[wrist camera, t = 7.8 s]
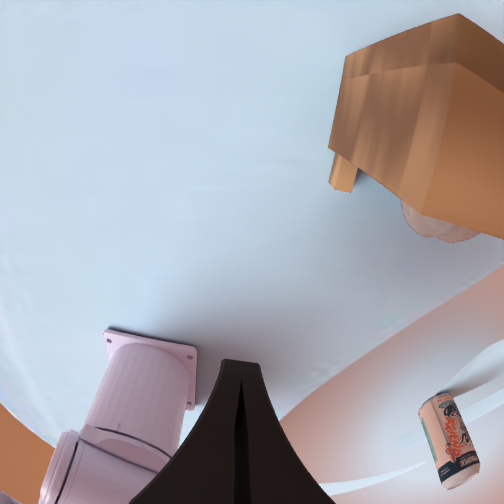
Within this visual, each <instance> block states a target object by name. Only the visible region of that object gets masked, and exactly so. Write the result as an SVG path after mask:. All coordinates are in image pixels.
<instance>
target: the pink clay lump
mask: <svg viewBox="0 0 504 504" xmlns="http://www.w3.org/2000/svg"><path fill="white" fill-rule="evenodd" d="M401 201H402V200H401ZM402 208H403V211H404V216H405V219H406V221H407V223H408V224H409V226H410V227H411V228H412V229H413V230H414V231H415V232H416V233H418V234H420V235H421V236H424V237H432V236H435V237H437V238H438V239H440V240H443V241H445V242H448V243H455V242H458V241H464V240H467V239H470V238H473V237H475V236H476V235H478V234H479V233H480V232H479V231H476V230H473V229H469V228H466V227H463V226H459V225H456V224H452V223H449V222H445V221H442V220H438V219H435V218H431V217H427V216H424V215H420V214H419V213H417V212H416V211H415V210H414V209H413V208H411V207H410V206H409V205H408V204H406V203H405V202H404V201H402Z"/></svg>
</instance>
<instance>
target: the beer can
mask: <svg viewBox="0 0 504 504" xmlns="http://www.w3.org/2000/svg"><path fill="white" fill-rule="evenodd" d="M418 415H419V417H420V420H421V423H422V426H423V429H424V431H425V434H426V437H427V440H428V443H429V446H430V449H431V452H432V455H433V458H434V461H435V464H436V468H437V470H438V474H439V477H440V481H441V485H442V486H444V488H446V489H447V490H450V489H453V488H455V487H457V486H460V485H462V484H464V483H465V482H467V481H469V480H471V479H472V478H474V477H475V476H476V475H478V473H479V468H480V462H479V459H478V456H477V454H476V451H475V448H474V446H473V443H472V441H471V438H470V436H469V434H468V431H467V429H466V426H465V424H464V422H463V419H462V417H461V415H460V413H459V410H458V408H457V406H456V404H455V402H454V400H453V397H452V395H451V394H449V393H444V394H438V395H435V396H433V397H432V398H430V399H428V400H427V401H426V402H425V403H424V404H423V405H422V407H421V408H420V410H419V411H418Z"/></svg>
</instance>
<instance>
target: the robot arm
mask: <svg viewBox="0 0 504 504" xmlns="http://www.w3.org/2000/svg"><path fill="white" fill-rule="evenodd" d="M103 336H104V341H105V345H106V349H107V354H108V358H109V362H110V364H109V366H108V368H107V370H106V373H105V375H104V377H103V379H102V382H101V384H100V386H99V389H98V391H97V394H96V396H95V398H94V401H93V403H92V406H91V408H90V411H89V413H88V416H87V418H86V421H85V423H84V426H83V428H82V430H81V431H80V433H79V434H78V432H76V431H74V430H72V429H71V430H69V432H68V431H66V432H62V434H61V436H60V438H59V441H58V443H57V446H56V448H55V451H54V454H53V456H52V459H51V461H50V464H49V467H48V469H47V473H46V475H45V478H44V481H43V484H42V487H41V490H40V494H41V496H40V499H39V502H38V504H336V503H335V502H334V501H333V500H332V499H331V498H330V497H329V496H328V495H327V494H326V493H325V492H324V490H323V489H322V488H321V487H320V486H319V485H318V483H317V482H316V481H315V480H314V478H313V477H312V476H311V474H310V473H309V472H308V471H307V469H306V468H305V466H304V465H303V463H302V462H301V460H300V459H299V457H298V456H297V454H296V453H295V451H294V449H293V448H292V446H291V444H290V442H289V441H288V439H287V437H286V435H285V433H284V431H283V429H282V427H281V425H280V423H279V421H278V418H277V416H276V414H275V411H274V409H273V406H272V404H271V401H270V399H269V396H268V393H267V390H266V387H265V384H264V380H263V377H262V373H261V368H260V365H259V364H258V363H252V362H244V361H237V360H230V359H224V360H222V362H221V367H220V372H219V375H218V378H217V381H216V383H215V386H214V389H213V391H212V393H211V395H210V397H209V399H208V402H207V404H206V406H205V408H204V409H203V411H202V413H201V415H200V416H199V418H198V420H197V422H196V423H195V425H194V427H193V428H192V430H191V431H190V433H189V434H188V436H187V437H186V439H185V440H184V442H183V443H182V445H181V446H180V447H179V449H178V446H179V441H180V435H181V429H182V424H183V418H184V413H185V410H189V411H192V410H194V408H195V386H196V365H197V349H196V348H195V347H193V346H188V345H182V344H177V343H171V342H166V341H160V340H155V339H150V338H145V337H140V336H136V335H131V334H126V333H122V332H118V331H113V330H109V329H106V330H105V331H104V333H103ZM110 339H111V340H110ZM189 355H191V356H189ZM0 504H21V503H20V502H18V501H16V500H15V499H13V498H11V497H10V496H9V495H7V494H6V493H4V492H2V491H1V490H0Z"/></svg>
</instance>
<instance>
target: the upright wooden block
mask: <svg viewBox="0 0 504 504" xmlns="http://www.w3.org/2000/svg"><path fill="white" fill-rule="evenodd" d="M328 148H330V149H331V150H333V151H334V152H336V153H335V157H334V162H333V166H332V170H331V174H330V179H329V184H330V185H331V186H332V187H333V188H334V189H336V190H340V191H345V192H350V193H351V192H352V189H353V185H354V181H355V177H356V173H357V169H358V168H359V169H361V170H362V171H364V172H365V173H366V174H368V175H369V176H371V177H372V178H373V179H375V180H376V181H377V182H379V183H380V184H382V185H383V186H384V187H386V188H387V189H388V190H390V191H391V192H392V193H393V194H395V195H396V196H397V197H399V198H400V199H401V200H402V201H404V202H405V203H406V204H408V205H409V206H410V207H411V208H413V209H414V210H415V211H416V212H417V213H419V214H420V215H424V216H427V217H431V218H435V219H438V220H442V221H445V222H449V223H452V224H456V225H459V226H463V227H466V228H469V229H473V230H476V231H479V232H482V233H485V234H489V235H492V236H495V237H498V238H501V239H504V44H503V43H502V42H500V41H499V40H498V39H496V38H495V37H494V36H492V35H491V34H489V33H488V32H487V31H485V30H484V29H482V28H481V27H479V26H478V25H477V24H475V23H473V22H472V21H470V20H469V19H467V18H466V17H464V16H463V15H461V14H459V13H458V14H455V15H451V16H448V17H445V18H442V19H438V20H435V21H432V22H429V23H426V24H423V25H421V26H418V27H415V28H412V29H410V30H407V31H404V32H402V33H399V34H396V35H394V36H391V37H389V38H386V39H384V40H382V41H379V42H377V43H375V44H372V45H370V46H368V47H365V48H363V49H361V50H359V51H356V52H354V53H352V54H350V55H348V56H346V58H345V63H344V69H343V75H342V80H341V85H340V91H339V96H338V101H337V106H336V111H335V116H334V121H333V126H332V131H331V135H330V140H329V145H328Z"/></svg>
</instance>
